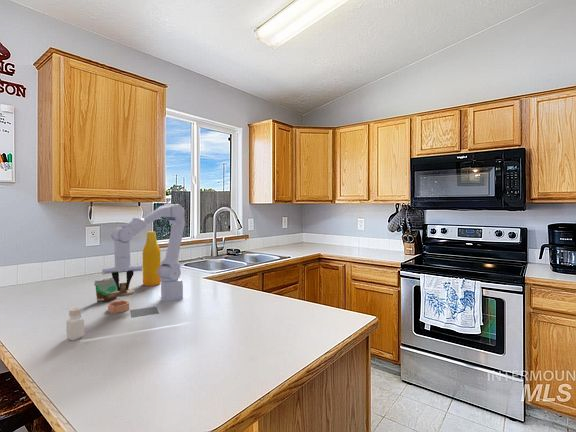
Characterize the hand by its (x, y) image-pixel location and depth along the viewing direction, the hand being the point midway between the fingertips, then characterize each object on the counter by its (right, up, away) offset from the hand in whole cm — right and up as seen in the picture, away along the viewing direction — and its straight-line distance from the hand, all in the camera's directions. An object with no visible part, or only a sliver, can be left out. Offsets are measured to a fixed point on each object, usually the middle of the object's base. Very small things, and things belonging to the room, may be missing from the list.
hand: (122, 289), depth 133 cm
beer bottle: (-8, -8, +47) cm, 48 cm away
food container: (-14, -9, +17) cm, 24 cm away
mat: (+10, -9, -2) cm, 13 cm away
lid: (0, -2, 0) cm, 2 cm away
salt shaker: (-2, -10, -26) cm, 28 cm away
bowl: (-2, -9, +1) cm, 9 cm away
